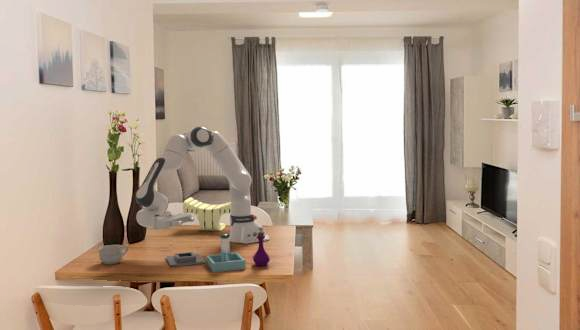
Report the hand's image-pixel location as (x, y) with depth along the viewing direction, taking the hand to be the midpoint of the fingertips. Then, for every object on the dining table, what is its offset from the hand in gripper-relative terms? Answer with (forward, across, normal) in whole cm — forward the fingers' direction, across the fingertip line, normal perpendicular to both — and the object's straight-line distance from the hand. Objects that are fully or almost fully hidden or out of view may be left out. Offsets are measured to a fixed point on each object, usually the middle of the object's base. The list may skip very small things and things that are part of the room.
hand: (186, 221), depth 282 cm
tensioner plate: (-1, +2, -19) cm, 19 cm away
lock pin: (+22, 0, -18) cm, 28 cm away
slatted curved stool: (-33, -63, -19) cm, 74 cm away
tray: (+22, 0, -19) cm, 29 cm away
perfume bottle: (+35, -9, -20) cm, 42 cm away
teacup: (-30, +19, -18) cm, 40 cm away
